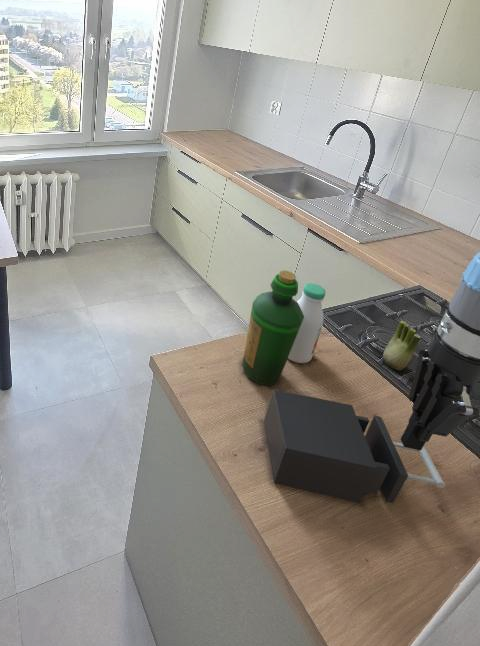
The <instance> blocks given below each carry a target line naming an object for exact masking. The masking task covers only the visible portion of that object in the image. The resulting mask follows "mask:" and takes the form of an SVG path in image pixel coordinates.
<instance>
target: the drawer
mask: <svg viewBox="0 0 480 646" xmlns="http://www.w3.org/2000/svg"><path fill="white" fill-rule="evenodd" d="M356 416H357V419H358V421H359V424H360V426H361V429H362V431H363V433H364V436H365V438H366V441H367V443H368V446H369V448H370V451H371V453H372V456H373V458H374V461H375V463H376V466H377V471H376V472H375V475H374V477H373V479H372V481H371V483H370V485H369V487H368V489H367V491H366V493H365V494H370V495H374V496H377V495H378V493H379V491H381V494H382V497H383V499H384V502H385V503H388V504H391V505H393V504H394V503H395V501H396V499H397V497H398V495H399V494H400V492H401V490H402V488H403V486H404V485H405V483H406V481H407V480H414V481H417V482H422V483H426V484H431V485H435V487H436V488H438V489H444V488H445V487H446V484H445V482H444V479H443V477H442V476H441V474H440V472H439V470H438V468H437V467H436V464H435V463H434V460H433V459H432V457H431V455H430V453H429V452H428V450H427V448H426V446H425V445H424V446H423V448H422V450H416V449H412V448H407V447H404V446H403V444H402V442H397V441H393V439H392V437H391V435H390V433H389V431H388V429H387V426H386V424H385V422H384V420H383V418H382V416H380V415H375V414H374V415H373V418H372V419H371V422H370V420H369V418H368V417H366V416H361V415H357V414H356ZM369 423H370V424H369ZM367 427H368V429H367ZM366 430H367V431H366ZM365 432H366V433H365ZM397 448H399V449H404V450H407V451H412V452H413V451H414V452H418V454H419V456H420V459H421V460H422V462H423V464H424V465H425V467H426V470H427V471H428V474H429V475H430V477H427V476H422V475H419V474H414V473H408V472H407V470H406V467H405V465H404V463H403V461H402V459H401V457H400V455H399V452H398V450H397Z"/></svg>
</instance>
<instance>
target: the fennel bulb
mask: <svg viewBox="0 0 480 646" xmlns="http://www.w3.org/2000/svg"><path fill="white" fill-rule="evenodd" d="M416 333H417V331H416V329H414V328H412V327H411V328H410V325H408V323H406V322H405V321H403V320H399V322H398V325H397V328H396V330H395V333H394V335H393V336H392V338H391V339H389V342H388V343H387V344H386V347H385V349H384V351H383V354H382V360H383V361H384V362H385V364H386V365H387V366H388V367H390V368H391V369H393V370H396V371H399V372H401V371H403V370H404V369H405V368H406V367H407V366H408V365H409V363H410V362H411V360H412V358H413V355H414V353H415V351H416V347H417V346H418V344H419V342H420V341H421V336H420V335H419V334H416Z"/></svg>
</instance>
